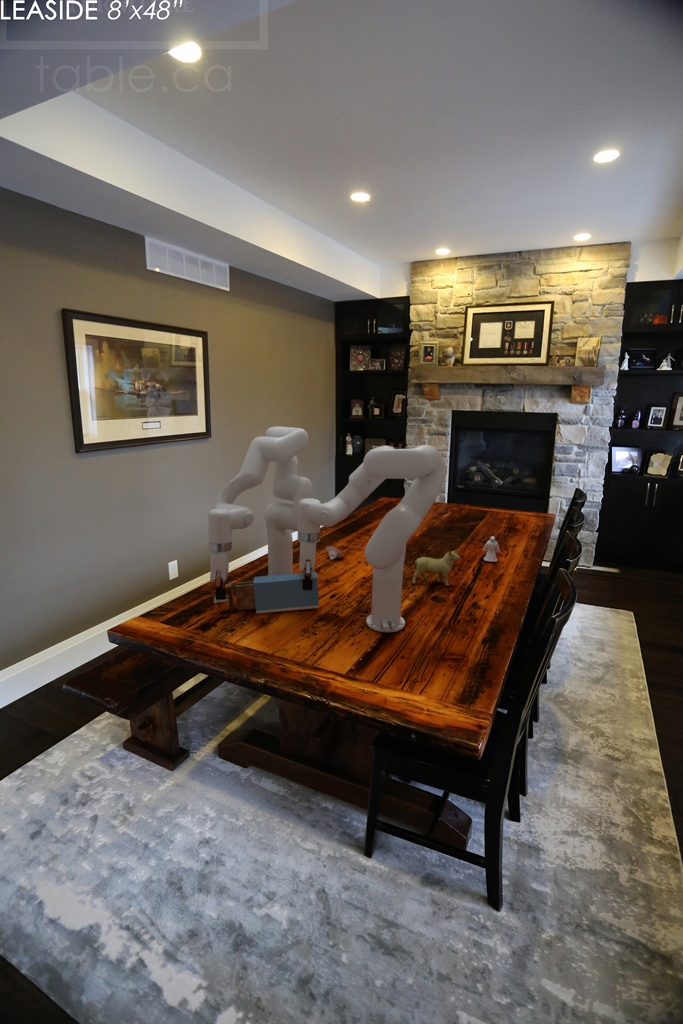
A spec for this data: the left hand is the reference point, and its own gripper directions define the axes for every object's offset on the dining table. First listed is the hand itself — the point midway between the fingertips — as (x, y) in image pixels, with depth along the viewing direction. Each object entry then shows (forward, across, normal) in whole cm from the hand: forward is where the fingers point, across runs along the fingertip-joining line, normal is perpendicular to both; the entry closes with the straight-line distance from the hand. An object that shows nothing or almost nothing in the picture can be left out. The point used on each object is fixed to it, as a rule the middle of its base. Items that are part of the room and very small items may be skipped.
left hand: (220, 598), depth 168 cm
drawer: (+4, -1, +11) cm, 11 cm away
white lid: (+2, -52, +42) cm, 67 cm away
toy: (+2, -21, +80) cm, 82 cm away
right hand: (-4, -1, +29) cm, 29 cm away
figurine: (0, -47, +112) cm, 122 cm away
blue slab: (+4, -1, +22) cm, 23 cm away
